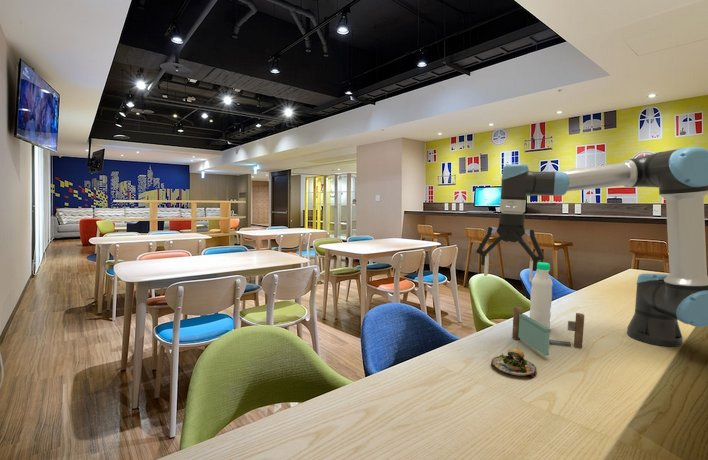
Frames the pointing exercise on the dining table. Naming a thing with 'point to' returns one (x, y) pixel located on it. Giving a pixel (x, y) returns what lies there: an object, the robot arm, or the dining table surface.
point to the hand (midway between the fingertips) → (507, 278)
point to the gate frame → (572, 326)
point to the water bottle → (541, 295)
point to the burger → (514, 363)
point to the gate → (534, 334)
